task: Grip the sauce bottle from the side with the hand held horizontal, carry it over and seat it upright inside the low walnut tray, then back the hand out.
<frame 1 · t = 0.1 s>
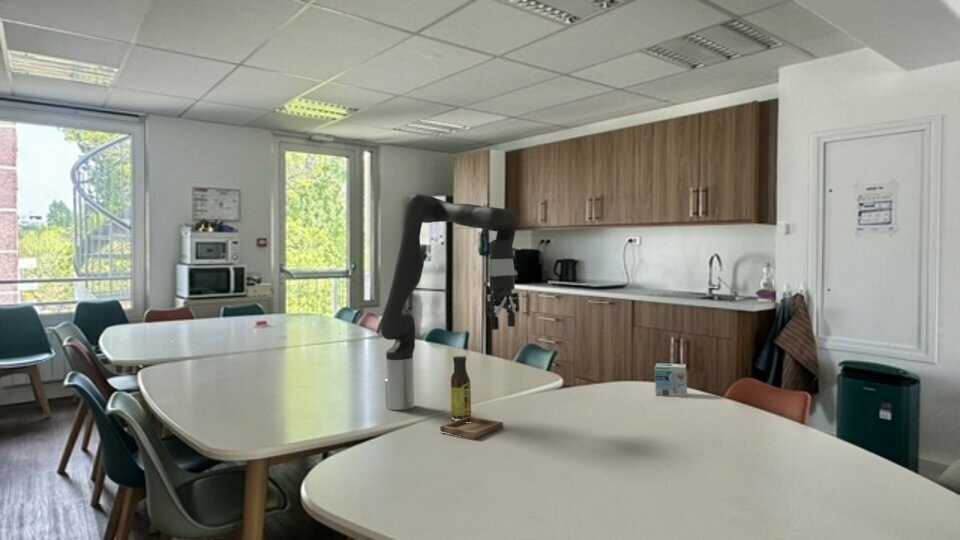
hand: (503, 328, 167), 29 cm above the table, tool pointing down, fingers open, 8 cm apart
light bulb box: (671, 395, 200), on the table
sauce bottle: (461, 420, 175), on the table
walnut tray: (472, 431, 161), on the table
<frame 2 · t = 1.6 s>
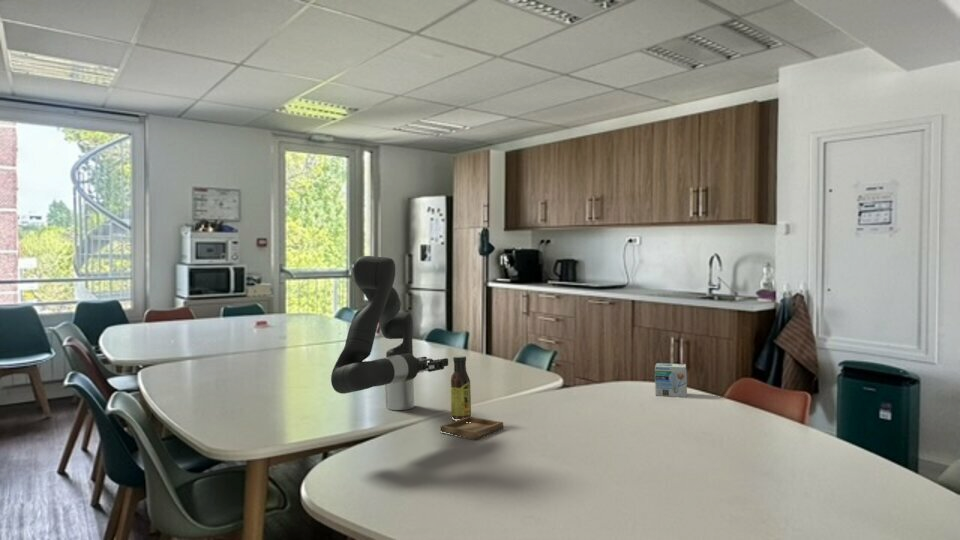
hand: (436, 360, 166), 20 cm above the table, tool horizontal, fingers open, 8 cm apart
nothing on the table moved.
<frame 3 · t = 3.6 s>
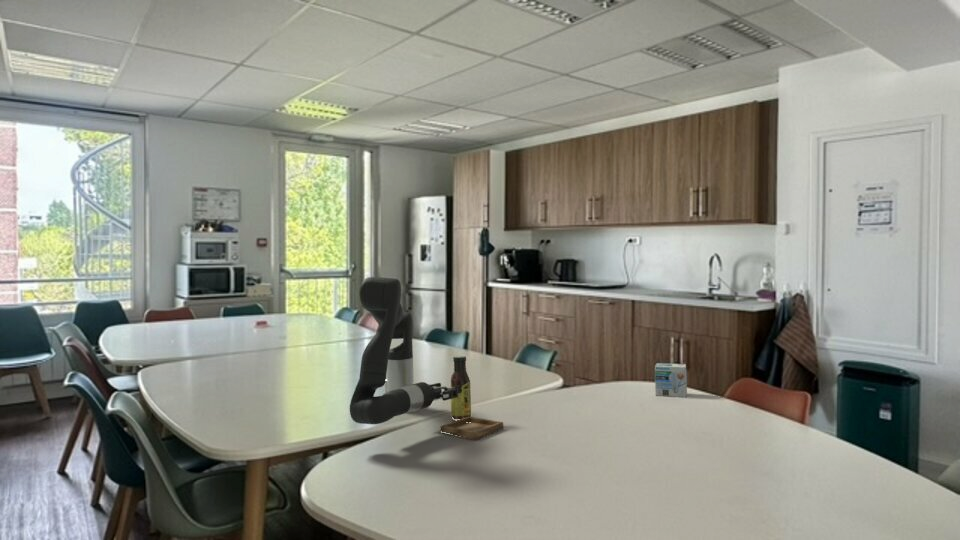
hand: (450, 387, 171), 11 cm above the table, tool horizontal, fingers open, 8 cm apart
nothing on the table moved.
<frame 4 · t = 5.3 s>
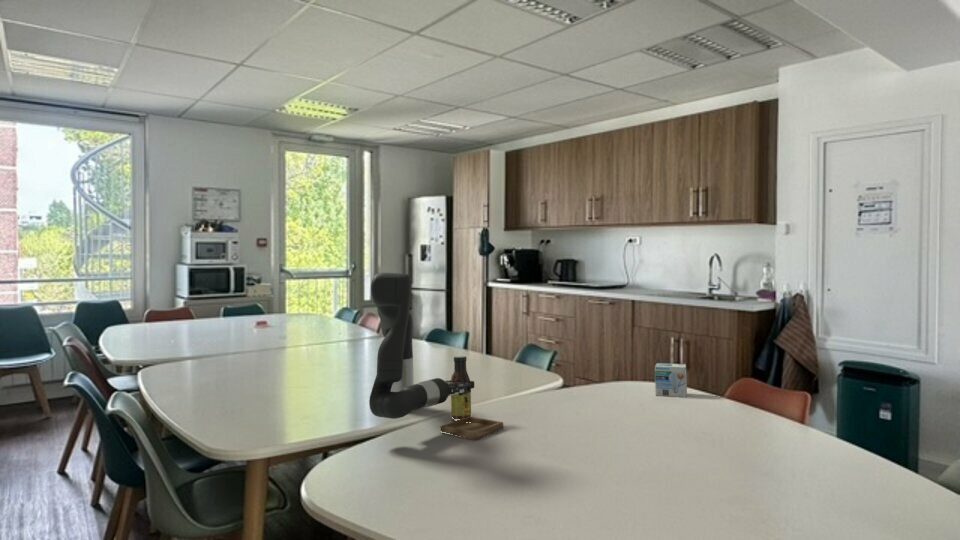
hand: (465, 383, 177), 11 cm above the table, tool horizontal, fingers closed on sauce bottle, 6 cm apart
sauce bottle: (461, 420, 175), on the table, touching gripper
everything else where it was.
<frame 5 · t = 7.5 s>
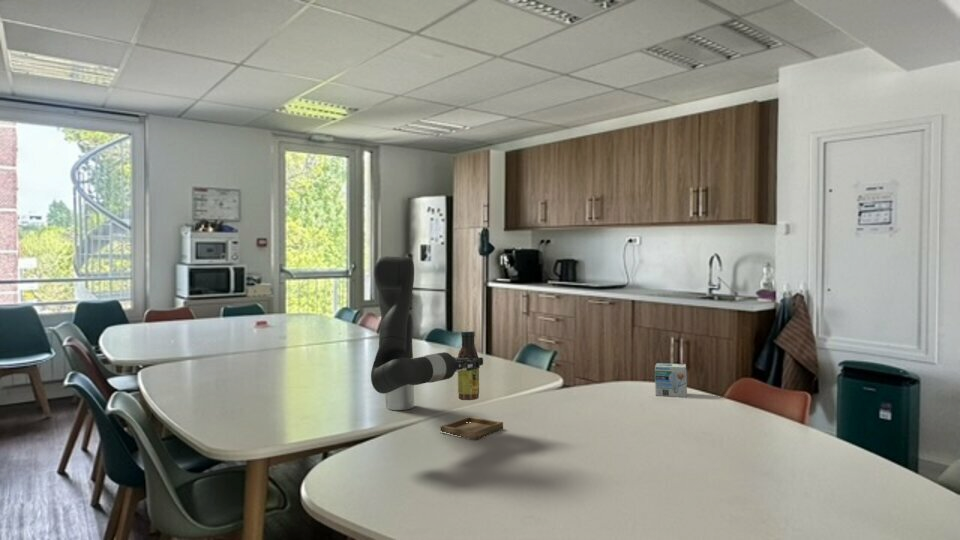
hand: (472, 360, 165), 20 cm above the table, tool horizontal, fingers closed on sauce bottle, 6 cm apart
sauce bottle: (468, 399, 163), point 9 cm above the table, touching gripper
everything else where it was.
when the fingers open (12 cm above the table, at t = 9.7 s): sauce bottle stays where it is, resting on walnut tray.
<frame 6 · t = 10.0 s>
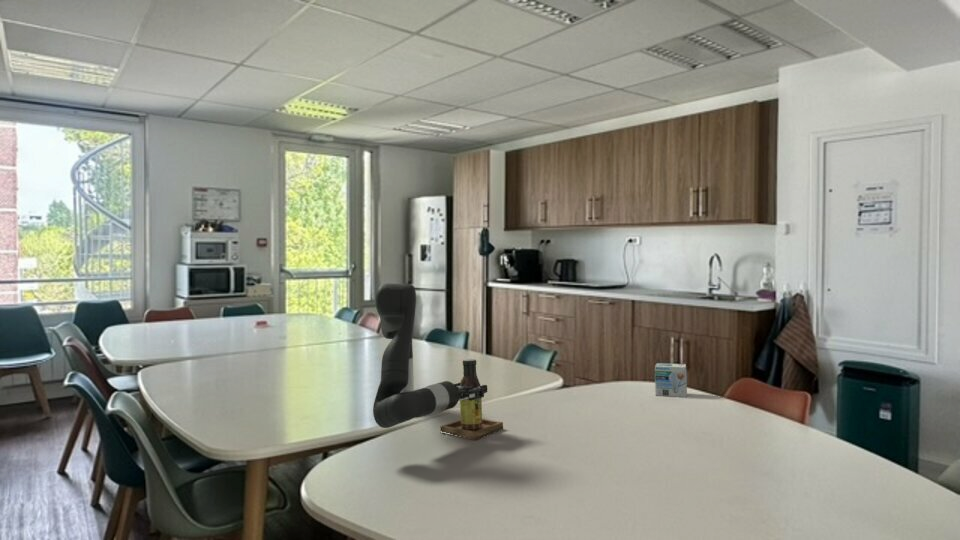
hand: (474, 387, 163), 12 cm above the table, tool horizontal, fingers open, 8 cm apart
sauce bottle: (471, 429, 161), point 1 cm above the table, touching walnut tray
everything else where it was.
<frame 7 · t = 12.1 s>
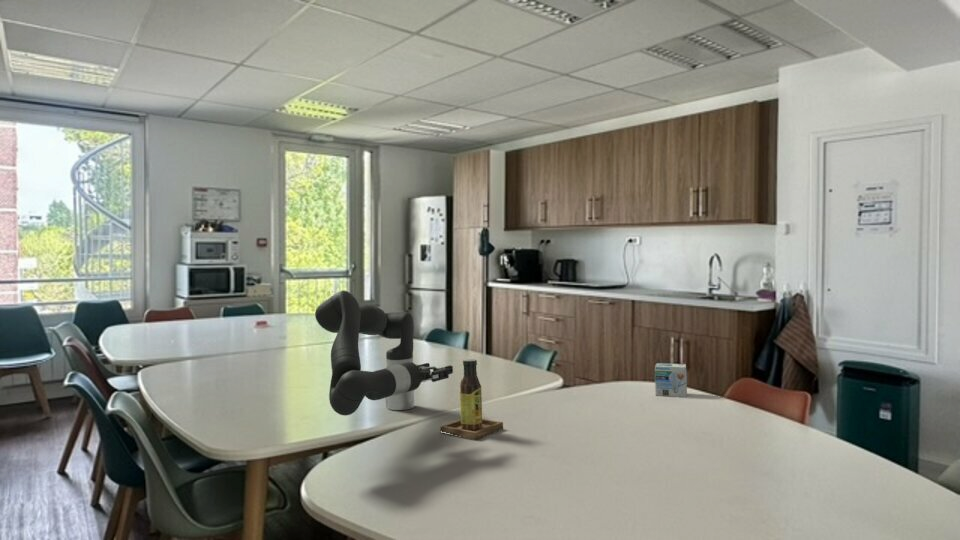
hand: (440, 367, 156), 20 cm above the table, tool horizontal, fingers open, 8 cm apart
nothing on the table moved.
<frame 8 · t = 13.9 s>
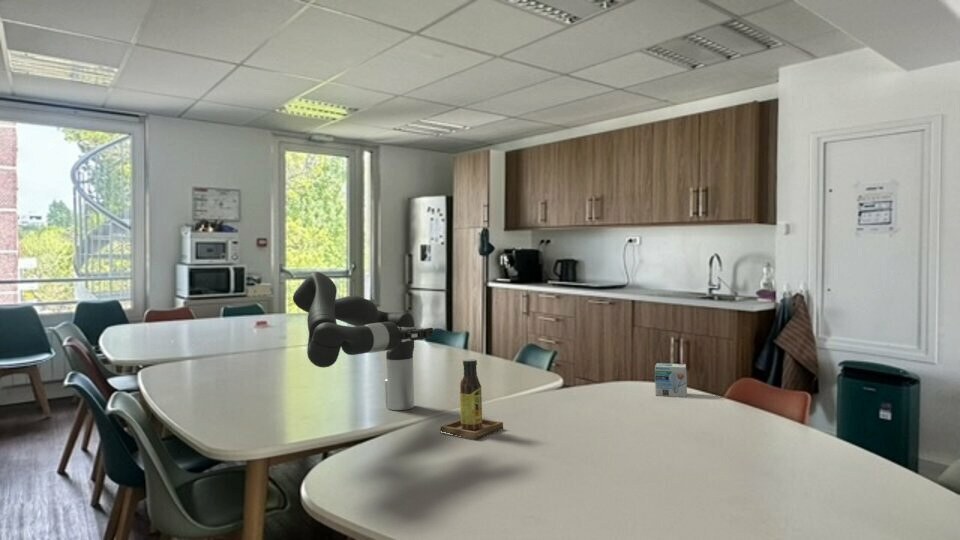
hand: (421, 331, 157), 30 cm above the table, tool horizontal, fingers open, 8 cm apart
nothing on the table moved.
at the end: sauce bottle inside the target area on the walnut tray (0.1 cm from its centre), point 0.6 cm above the walnut tray's base; sauce bottle tilted 0°; the gripper is holding nothing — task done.
